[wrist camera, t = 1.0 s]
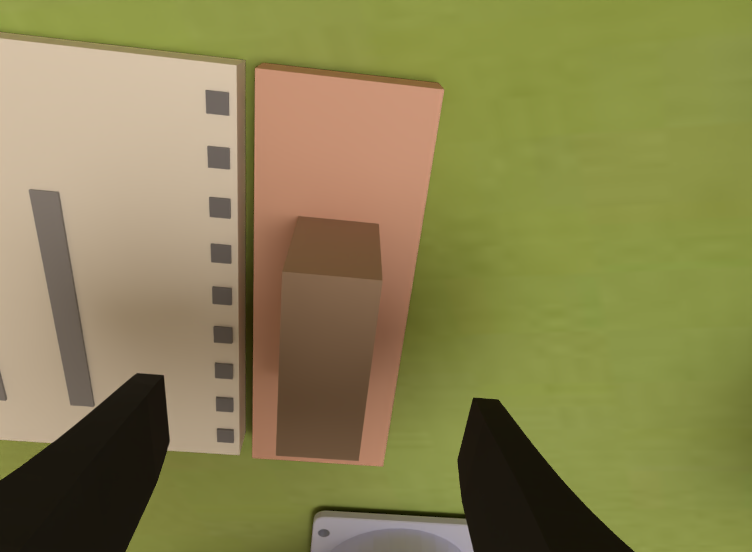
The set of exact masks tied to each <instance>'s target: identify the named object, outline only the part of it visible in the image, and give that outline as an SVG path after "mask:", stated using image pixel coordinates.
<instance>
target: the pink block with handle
mask: <svg viewBox="0 0 752 552" xmlns="http://www.w3.org/2000/svg"><path fill="white" fill-rule="evenodd" d="M443 94H444V89H443V88H442V86H441V85H440V84H439V83H435V82H426V81H417V80H409V79H400V78H391V77H382V76H374V75H365V74H356V73H348V72H339V71H330V70H322V69H313V68H304V67H296V66H287V65H278V64H270V63H262V64H260V65H259V66H257V67H256V68H255V155H254V294H253V434H252V458H260V459H276V460H291V461H306V462H322V463H337V464H353V465H368V466H383V463H384V457H385V451H386V445H387V439H388V432H389V426H390V420H391V414H392V408H393V402H394V396H395V389H396V383H397V377H398V371H399V365H400V359H401V352H402V346H403V340H404V334H405V328H406V322H407V315H408V309H409V303H410V297H411V291H412V285H413V279H414V272H415V266H416V260H417V254H418V248H419V242H420V235H421V229H422V223H423V217H424V211H425V205H426V199H427V192H428V186H429V180H430V174H431V168H432V162H433V155H434V149H435V143H436V137H437V131H438V125H439V118H440V112H441V106H442V100H443Z"/></svg>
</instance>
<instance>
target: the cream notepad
mask: <svg viewBox="0 0 752 552" xmlns="http://www.w3.org/2000/svg"><path fill="white" fill-rule="evenodd" d="M136 373H144V374H157V375H164V381H165V392H166V404H167V415H168V426H169V437H170V443H169V446H168V449H167V450H168V451H183V452H199V453H214V454H230V455H240V452H241V448H242V444H243V440H244V437H245V433H246V206H245V60H239V59H230V58H222V57H213V56H204V55H196V54H187V53H178V52H170V51H161V50H152V49H143V48H135V47H126V46H117V45H109V44H100V43H91V42H83V41H74V40H65V39H57V38H48V37H39V36H31V35H22V34H13V33H5V32H0V440H14V441H29V442H45V443H53V442H54V441H55V440H57V439H58V438H59V437H60V436H62V435H63V434H64V433H65V432H67V431H68V430H69V429H70V428H72V427H73V426H74V425H75V424H76V423H78V422H79V421H80V420H81V419H83V418H84V417H85V416H86V415H88V414H89V413H90V412H91V411H92V410H93V409H95V408H96V407H97V406H98V405H99V404H101V403H102V402H103V401H104V400H105V399H106V398H108V397H109V396H110V395H111V394H112V393H113V392H115V391H116V390H117V389H118V388H119V387H120V386H122V385H123V384H124V383H125V382H126V381H127V380H129V379H130V378H131V377H132V376H134V375H135V374H136Z"/></svg>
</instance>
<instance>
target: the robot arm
mask: <svg viewBox="0 0 752 552" xmlns="http://www.w3.org/2000/svg"><path fill="white" fill-rule="evenodd" d="M169 443H170V437H169V426H168V415H167V404H166V392H165V381H164V375H157V374H144V373H136V374H135V375H134V376H132V377H131V378H130V379H129V380H127V381H126V382H125V383H124V384H123V385H122V386H120V387H119V388H118V389H117V390H116V391H115V392H113V393H112V394H111V395H110V396H109V397H108V398H106V399H105V400H104V401H103V402H102V403H101V404H99V405H98V406H97V407H96V408H95V409H93V410H92V411H91V412H90V413H89V414H88V415H86V416H85V417H84V418H83V419H81V420H80V421H79V422H78V423H76V424H75V425H74V426H73V427H72V428H70V429H69V430H68V431H67V432H65V433H64V434H63V435H62V436H60V437H59V438H58V439H57V440H55V441H54V442H53V443H51V444H50V445H49V446H47V447H46V448H45V449H43V450H42V451H41V452H39V453H38V454H37V455H35V456H34V457H33V458H31V459H30V460H29V461H27V462H26V463H25V464H23V465H22V466H21V467H19V468H18V469H16V470H15V471H13V472H12V473H11V474H9V475H8V476H6V477H5V478H3V479H2V480H0V552H125V551H126V549H127V547H128V545H129V543H130V541H131V538H132V536H133V534H134V532H135V530H136V528H137V525H138V523H139V521H140V519H141V517H142V515H143V512H144V510H145V508H146V506H147V504H148V501H149V499H150V497H151V495H152V493H153V490H154V488H155V486H156V483H157V481H158V478H159V475H160V472H161V468H162V465H163V462H164V459H165V456H166V452H167V449H168V446H169ZM458 470H459V480H460V489H461V497H462V504H463V508H464V513H465V517H466V519H461V518H444V517H427V516H410V515H393V514H376V513H359V512H342V511H320V512H318V513H316V514H315V516H314V520H313V531H312V543H311V552H634V551H633V550H632V549H631V548H630V547H629V546H627V545H626V544H625V543H624V542H623V541H622V540H621V539H620V538H619V537H618V536H616V535H615V534H614V533H613V532H612V531H611V530H610V529H609V528H608V527H607V526H606V525H605V524H604V523H603V522H602V521H601V520H600V519H599V518H598V517H597V516H596V515H595V514H594V513H593V512H592V511H591V510H590V509H589V508H588V507H587V506H586V505H585V504H584V503H583V502H582V501H581V500H580V499H579V498H578V497H577V496H576V495H575V493H574V492H573V491H572V490H571V489H570V488H569V487H568V486H567V485H566V484H565V483H564V481H563V480H562V479H561V478H560V477H559V476H558V475H557V473H556V472H555V471H554V470H553V469H552V467H551V466H550V465H549V464H548V463H547V461H546V460H545V459H544V458H543V456H542V455H541V454H540V453H539V452H538V450H537V449H536V448H535V447H534V445H533V444H532V443H531V441H530V440H529V439H528V438H527V436H526V435H525V434H524V432H523V431H522V430H521V429H520V427H519V426H518V425H517V423H516V422H515V421H514V419H513V418H512V417H511V415H510V414H509V413H508V411H507V410H506V409H505V407H504V406H503V405H502V404H501V402H500V401H499V400H497V399H484V398H473V400H472V404H471V408H470V412H469V416H468V420H467V424H466V428H465V432H464V436H463V440H462V444H461V448H460V452H459V456H458Z"/></svg>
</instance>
